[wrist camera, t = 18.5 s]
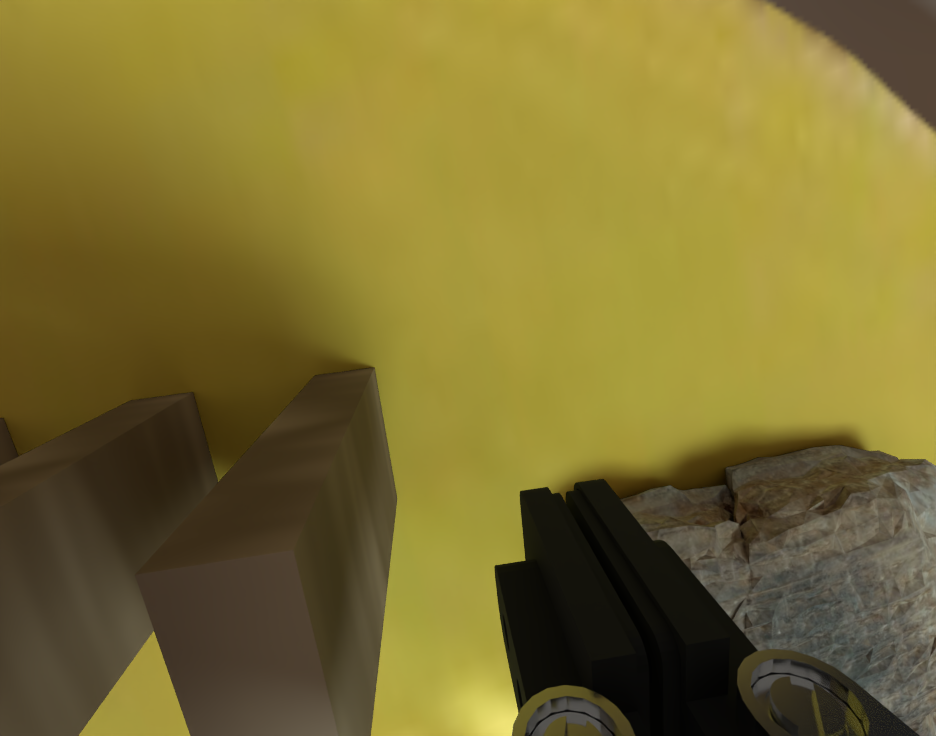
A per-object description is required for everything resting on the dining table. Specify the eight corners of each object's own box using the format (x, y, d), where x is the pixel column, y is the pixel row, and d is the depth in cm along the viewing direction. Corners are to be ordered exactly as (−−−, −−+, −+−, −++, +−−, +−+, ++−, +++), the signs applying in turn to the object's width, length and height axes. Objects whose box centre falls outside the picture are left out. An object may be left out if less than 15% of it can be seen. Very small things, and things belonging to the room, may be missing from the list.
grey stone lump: (905, 766, 23) (916, 406, 18) (1024, 897, 19) (1087, 464, 13) (637, 836, 23) (567, 495, 18) (689, 986, 19) (615, 585, 13)
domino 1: (192, 391, 15) (-203, 628, 6) (229, 524, 17) (-43, 904, 7) (130, 400, 15) (-382, 656, 6) (172, 533, 16) (-186, 931, 7)
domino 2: (374, 367, 16) (293, 550, 6) (397, 499, 17) (360, 825, 7) (314, 375, 16) (134, 574, 6) (342, 507, 17) (229, 851, 7)
